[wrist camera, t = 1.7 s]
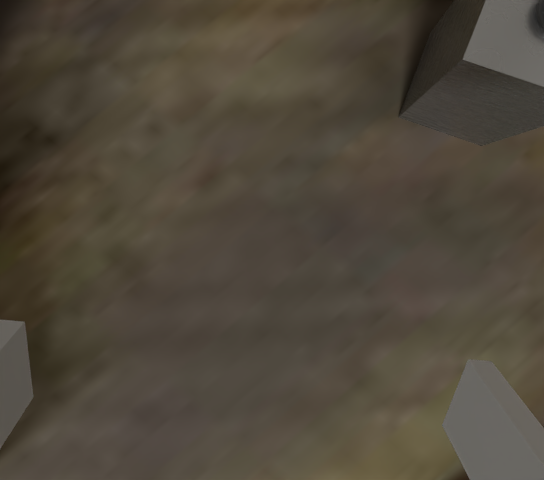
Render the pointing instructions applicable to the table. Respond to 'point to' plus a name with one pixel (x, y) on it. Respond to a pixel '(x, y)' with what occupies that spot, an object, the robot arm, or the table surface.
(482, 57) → the block
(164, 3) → the table surface
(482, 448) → the robot arm
